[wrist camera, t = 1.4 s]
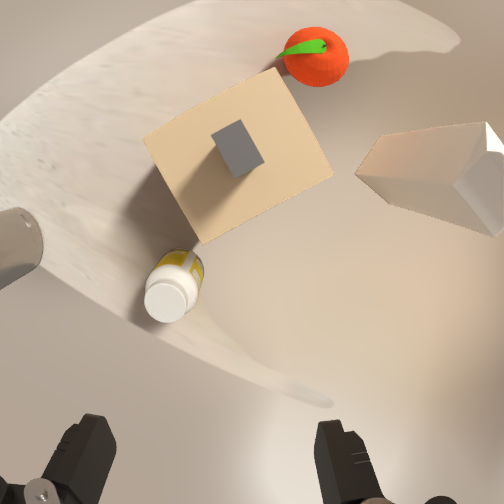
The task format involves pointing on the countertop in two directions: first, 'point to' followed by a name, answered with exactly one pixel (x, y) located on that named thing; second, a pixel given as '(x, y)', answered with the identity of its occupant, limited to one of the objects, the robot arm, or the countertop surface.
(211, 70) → the countertop surface
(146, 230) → the countertop surface
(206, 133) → the lid
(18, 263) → the robot arm
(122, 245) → the countertop surface
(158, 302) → the supplement bottle
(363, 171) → the milk
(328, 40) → the clementine
